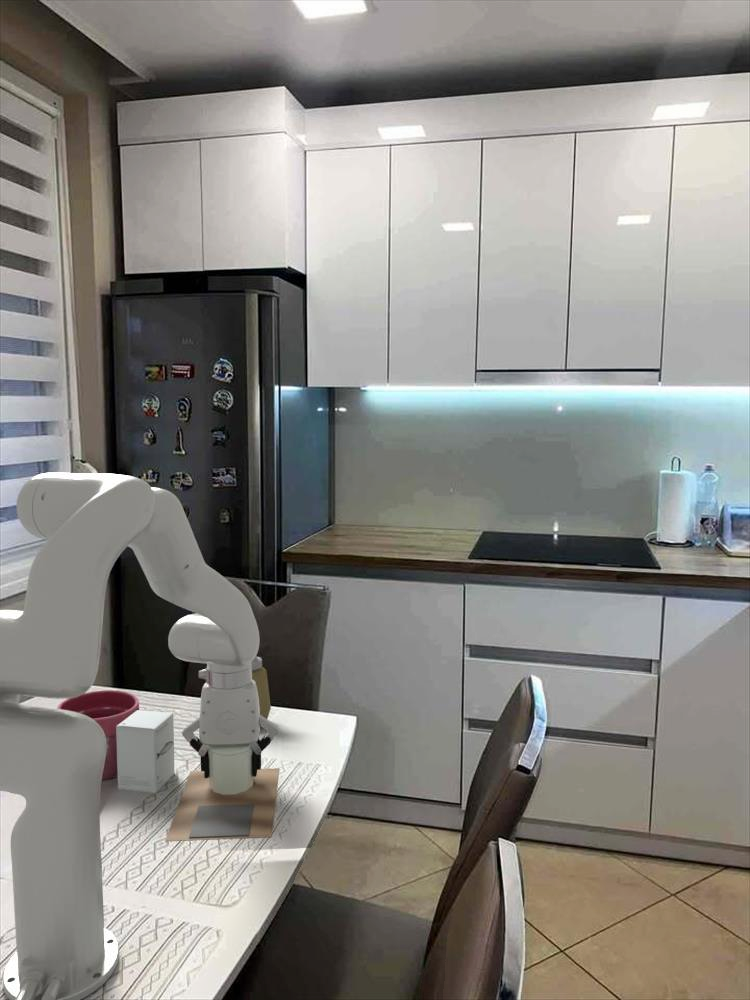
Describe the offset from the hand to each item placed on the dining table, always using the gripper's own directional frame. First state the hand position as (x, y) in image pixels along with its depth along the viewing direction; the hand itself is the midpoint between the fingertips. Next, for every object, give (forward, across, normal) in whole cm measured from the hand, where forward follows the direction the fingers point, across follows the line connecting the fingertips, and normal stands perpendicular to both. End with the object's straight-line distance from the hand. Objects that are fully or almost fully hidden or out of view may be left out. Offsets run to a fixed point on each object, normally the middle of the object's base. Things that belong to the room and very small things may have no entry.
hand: (231, 773), depth 128 cm
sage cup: (+2, 0, 0) cm, 2 cm away
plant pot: (+3, -25, +9) cm, 27 cm away
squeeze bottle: (+3, +1, +27) cm, 27 cm away
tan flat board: (+3, 0, -6) cm, 7 cm away
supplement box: (+3, -15, +2) cm, 16 cm away
